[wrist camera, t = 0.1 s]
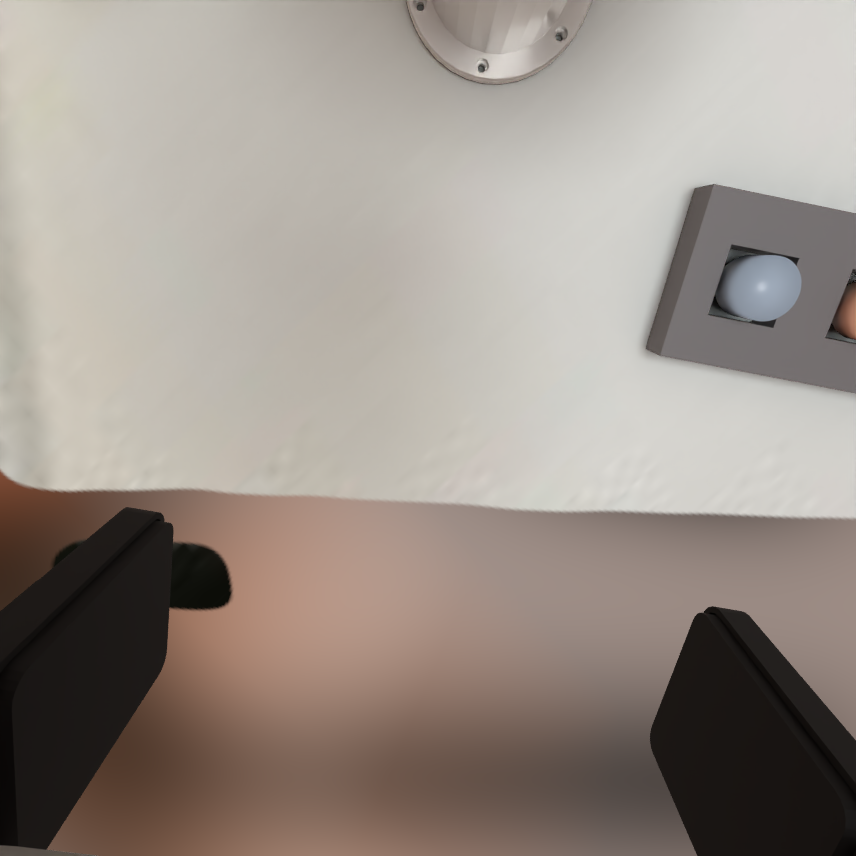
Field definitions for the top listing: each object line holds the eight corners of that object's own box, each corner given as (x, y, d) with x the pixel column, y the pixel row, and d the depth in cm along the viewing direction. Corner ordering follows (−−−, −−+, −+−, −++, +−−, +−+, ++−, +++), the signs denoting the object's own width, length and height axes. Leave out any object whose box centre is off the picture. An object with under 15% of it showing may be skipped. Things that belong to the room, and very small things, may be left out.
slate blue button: (727, 249, 41) (749, 249, 38) (785, 261, 41) (811, 262, 38) (706, 310, 42) (726, 315, 39) (763, 321, 42) (787, 326, 40)
